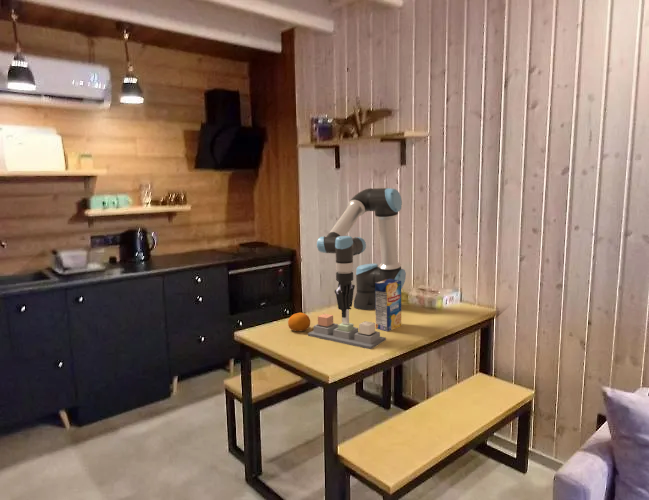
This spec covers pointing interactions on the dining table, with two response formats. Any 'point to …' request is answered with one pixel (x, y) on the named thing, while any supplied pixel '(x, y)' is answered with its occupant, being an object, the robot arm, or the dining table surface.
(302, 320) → the fruit
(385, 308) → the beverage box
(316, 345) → the dining table surface
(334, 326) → the button board
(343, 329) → the button sage
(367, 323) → the button ivory
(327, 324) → the button terracotta
